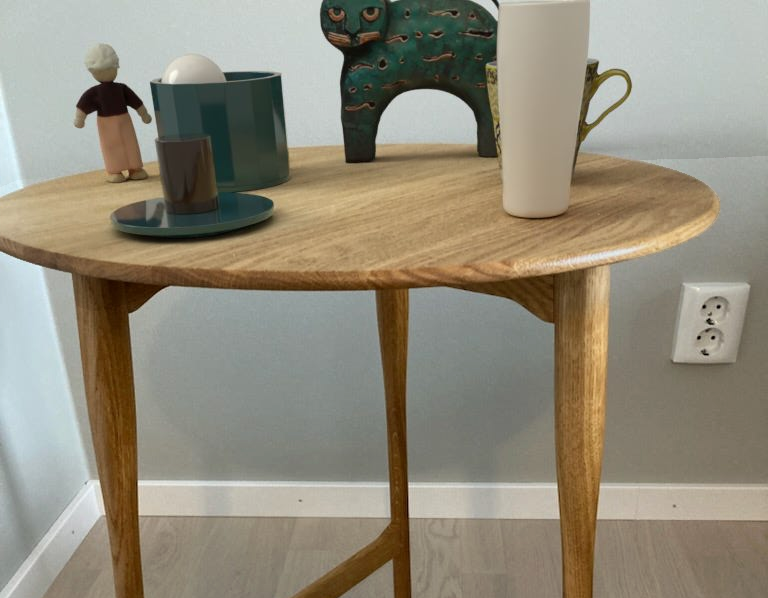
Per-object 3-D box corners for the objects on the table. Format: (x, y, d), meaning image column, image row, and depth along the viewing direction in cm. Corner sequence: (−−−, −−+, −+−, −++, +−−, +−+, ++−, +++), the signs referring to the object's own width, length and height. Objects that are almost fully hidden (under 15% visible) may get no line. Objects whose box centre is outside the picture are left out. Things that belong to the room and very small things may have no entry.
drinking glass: (589, 206, 75) (604, -2, 68) (559, 224, 70) (571, 1, 63) (513, 201, 78) (519, 1, 71) (479, 217, 73) (482, 4, 66)
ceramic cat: (328, 165, 98) (314, -55, 88) (333, 155, 103) (320, -52, 93) (515, 158, 97) (521, -65, 87) (510, 148, 102) (515, -62, 92)
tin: (142, 191, 89) (125, 84, 84) (204, 168, 99) (191, 72, 94) (257, 194, 85) (245, 83, 81) (309, 170, 95) (301, 70, 91)
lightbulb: (263, 156, 93) (224, 40, 87) (240, 176, 88) (197, 54, 82) (209, 169, 95) (168, 56, 89) (184, 189, 90) (138, 71, 84)
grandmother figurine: (147, 171, 99) (125, 40, 92) (164, 175, 96) (143, 40, 90) (80, 182, 95) (52, 46, 88) (95, 187, 92) (68, 46, 86)
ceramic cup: (472, 188, 84) (473, 67, 79) (496, 168, 92) (499, 58, 87) (617, 192, 80) (628, 65, 75) (629, 171, 88) (639, 55, 83)
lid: (78, 239, 72) (60, 150, 69) (166, 204, 83) (153, 125, 80) (229, 247, 68) (218, 152, 65) (300, 208, 79) (293, 125, 76)
